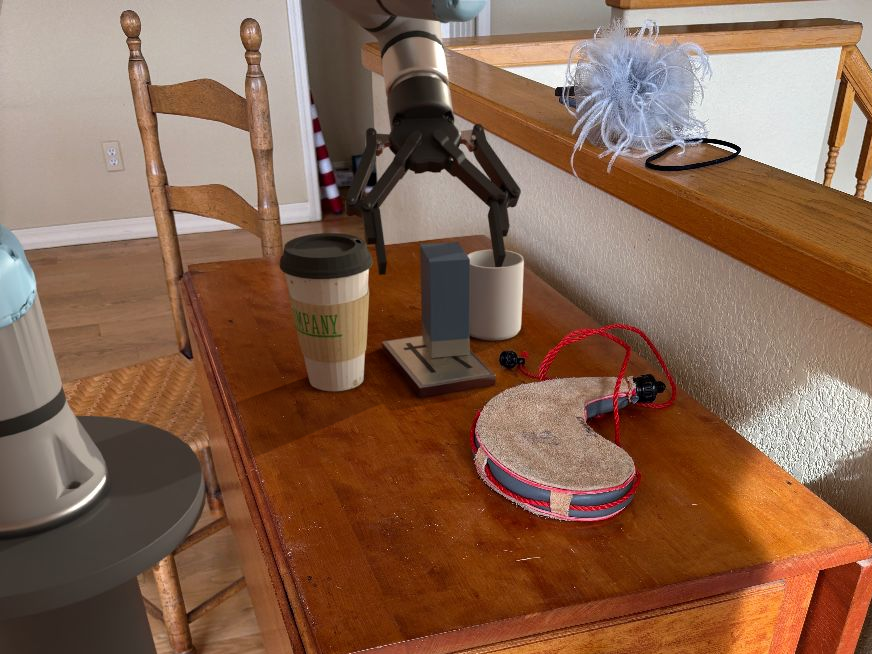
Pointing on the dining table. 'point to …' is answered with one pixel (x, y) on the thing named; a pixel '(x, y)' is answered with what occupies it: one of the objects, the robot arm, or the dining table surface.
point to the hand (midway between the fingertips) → (442, 265)
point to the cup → (495, 295)
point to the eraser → (445, 299)
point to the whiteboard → (436, 368)
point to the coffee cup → (330, 305)
